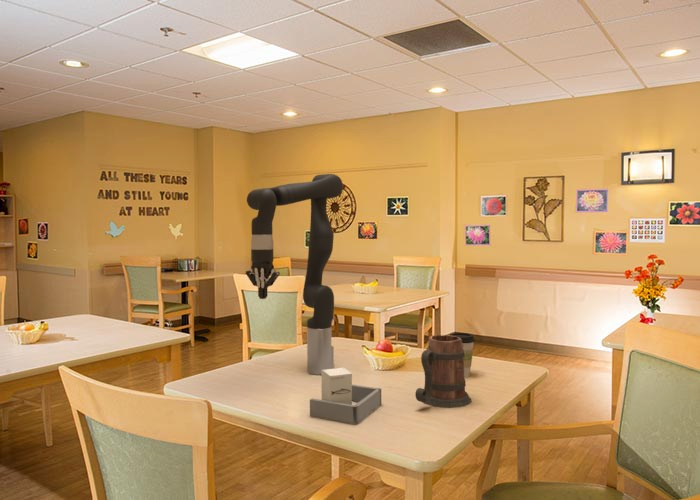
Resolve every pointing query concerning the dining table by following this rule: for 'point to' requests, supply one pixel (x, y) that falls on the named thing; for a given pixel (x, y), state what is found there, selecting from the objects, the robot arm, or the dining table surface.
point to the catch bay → (348, 406)
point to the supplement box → (337, 385)
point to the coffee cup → (466, 350)
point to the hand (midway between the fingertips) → (262, 298)
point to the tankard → (444, 373)
